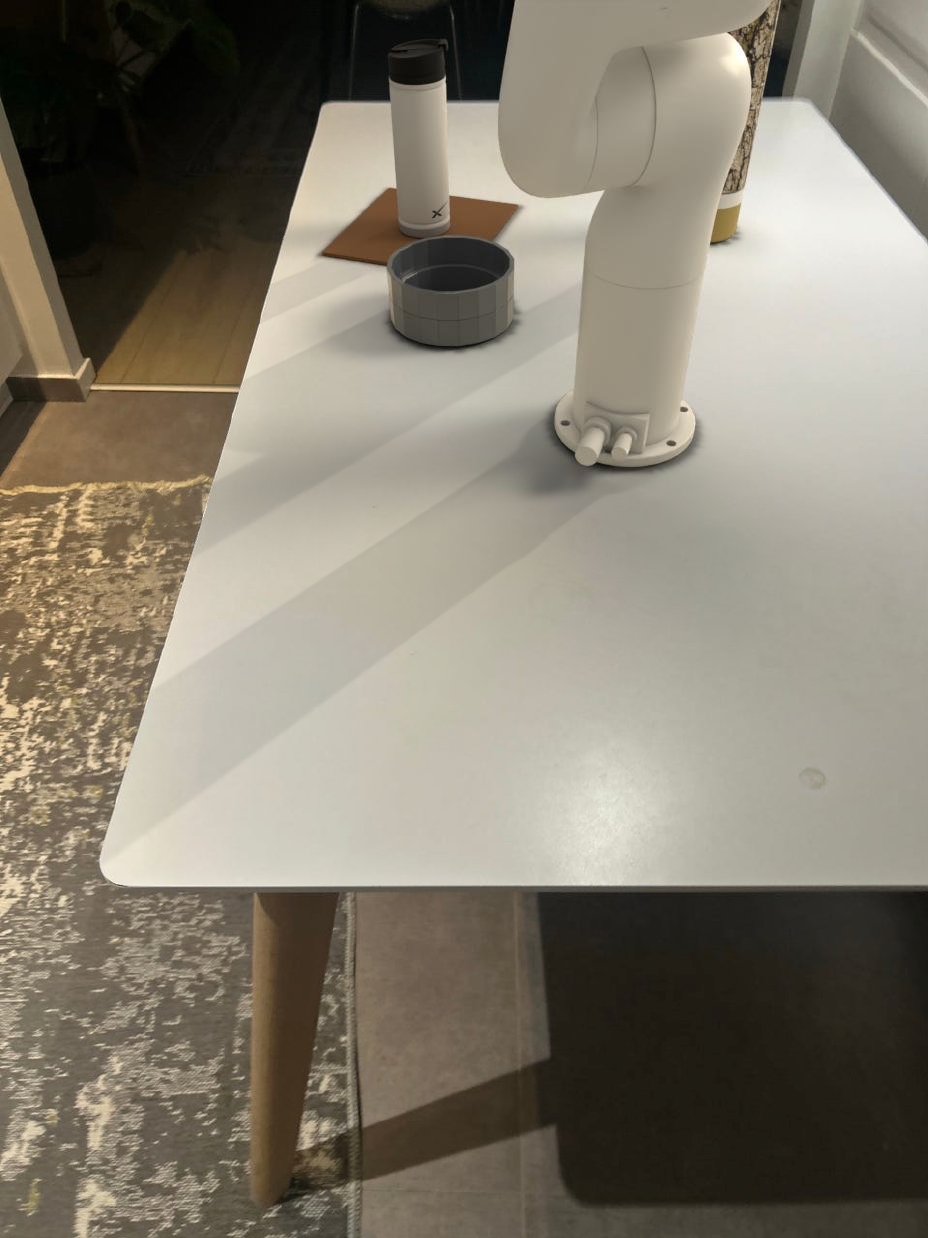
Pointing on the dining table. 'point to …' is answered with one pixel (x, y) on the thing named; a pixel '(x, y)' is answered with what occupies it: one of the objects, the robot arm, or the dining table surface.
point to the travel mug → (420, 136)
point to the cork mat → (382, 237)
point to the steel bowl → (451, 290)
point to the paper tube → (757, 50)
